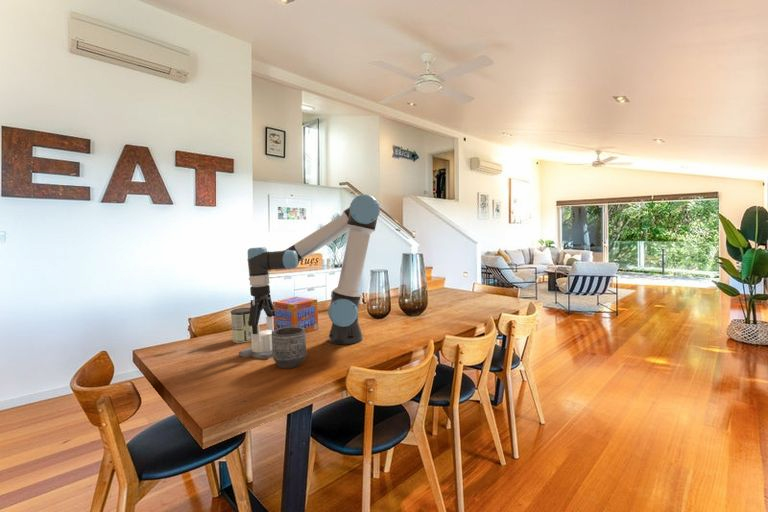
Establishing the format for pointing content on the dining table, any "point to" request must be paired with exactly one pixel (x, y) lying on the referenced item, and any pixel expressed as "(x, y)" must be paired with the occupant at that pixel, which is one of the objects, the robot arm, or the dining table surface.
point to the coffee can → (241, 325)
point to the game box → (296, 313)
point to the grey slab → (255, 354)
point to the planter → (289, 346)
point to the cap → (263, 342)
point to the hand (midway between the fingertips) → (264, 336)
